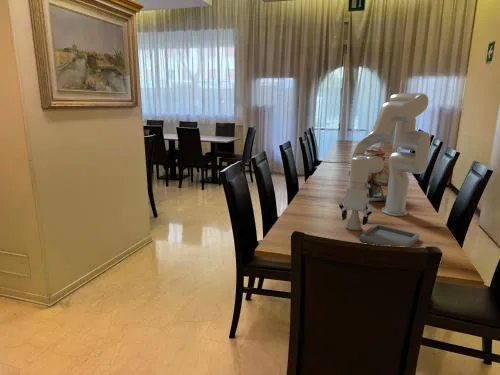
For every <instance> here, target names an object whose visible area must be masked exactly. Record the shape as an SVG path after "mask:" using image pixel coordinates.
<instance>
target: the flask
mask: <svg viewBox="0 0 500 375" xmlns="http://www.w3.org/2000/svg"><path fill="white" fill-rule="evenodd" d="M351 210H352V209H351ZM345 228H346V229H348V230H351V231H361V230H362V229H363V228H362V223H361V220H360V215H359V211H356V210H352V211H351V215H350V217H349V219H348V221H347V222H346V225H345Z"/></svg>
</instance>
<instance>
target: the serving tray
mask: <svg viewBox="0 0 500 375" xmlns="http://www.w3.org/2000/svg"><path fill="white" fill-rule="evenodd" d="M419 238H420V233H416V232H412V231H409V230H408V231H407V230H404V229H400V228H396V227H391V226H387V225H384V224H379V223H375V224H374V225H372V226H371V227H370V228H368V229H367V230H365V231H363V233H361V235H360V236H359V242H363V243H366V244H369V243H370V244H369V245H372V244H377V245H391V246H405V247H411V246H412V247H413V246H414V245H415V244H416V243H417V242H418V241H419ZM412 247H411V248H412Z"/></svg>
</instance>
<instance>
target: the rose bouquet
mask: <svg viewBox="0 0 500 375" xmlns="http://www.w3.org/2000/svg"><path fill="white" fill-rule="evenodd" d="M383 150H384V149H383V148H381V147H380V146H379V147H376V146H370V147H369V148H368V149H367V150H366V152H365V153H366V154H367V155H373V156H378V157H380V158H382V159H383V161H384V162H385V160H386V157H385V155H386V153H385V152H384V151H383ZM347 176H348V177H350V170H349V171H348V174H347ZM388 180H389V164H385V163H384V167H383V169H382V170H381V171H380V172H378V173H368V179H367V182H368V184H370V187H367V189H368V190H369V202H376V201H384V202H385V203H386V197H387V194H386V195H385V194H384V192H383V188H382V187H385V188H388Z"/></svg>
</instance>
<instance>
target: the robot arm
mask: <svg viewBox="0 0 500 375" xmlns="http://www.w3.org/2000/svg"><path fill="white" fill-rule="evenodd" d="M428 105H429V97H428V96H427V94H425V93H422V92H421V93H420V92H419V93H417V92H415V93H413V92H409V93H408V92H406V93H405V92H402V93H401V92H400V93H394V94H392V95H390V97H389V100H388V101H387V102H384V103H383V104H382V105H381V108H380V110H379V111H378V112H379V113H378V115H377V118H376V121H375V122H374V125H373V128H372V129H371V132H369V133H368V134H366V135H365V136H364V137H363V138H362V139H361V140H360V141H358V142H357V144H356V146H355V148H354V151H353V153H352V156H351V158H350V170H349V171H350V176H349V180H348V186H347V187H346V190H345V194H344V195H345V196H344V198H342V199H339V200H337V204H338V207H339V208H340V210H341V217H342V219H341V220H342V221H344V220H347V218H348V217H347V216H348V210H356V211H358V212H361V213H362V214H363V216H362V223H361V226H366V224H368V222H369V216H371V215H372V214H373V213H374V212H375V210H376V207H375V206H374V205H372V204H371V202H370V201H369V190H368V189H367V187H370V184H368V182H367V179H368V173H378V172H380V171H381V170H382V169H383V167H384V164H385V160H384V161H383V159H382V158H380V157H378V156H373V155H367V153H366V150H367V149H368V148H370V147H373V146H374V145H375V144H378V143H381V142H385V141H388V140H389V139H390V138H392V136H393V132H394V129H395V134H394V146H395V147H396V148H397V149H399V150H404V151H394V152H393V153H391V154H390V155H389V158H388V166H389V180H388V187H387V189H386V196H387V197H386V202H385V205H384V206H383V207H381V212H382V213H383V214H386V215H388V216H389V215H390V216H393V217H395V216H396V217H404V216H405V217H406V216H408V214H409V211H408V210H407V209H406V207H407V198H408V192H409V191H408V190H409V184H410V183H409V182H410V180H409V176H408V174H413V175H414V174H415V175H420V174H423V173H425V171H426V170H427V167H428V160H429V155H430V154H429V153H430V147H431V136H430V134H429V133H428V132H426V131H422V130H416V126H417V125H416V123H417V119H416V118H417V117H418V116H419V115H421V114H422V113H423V112H425V111H426V110H427V108H428ZM406 151H415V152H406ZM365 153H366V154H365ZM347 209H348V210H347ZM368 209H370V210H369V211H368Z"/></svg>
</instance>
